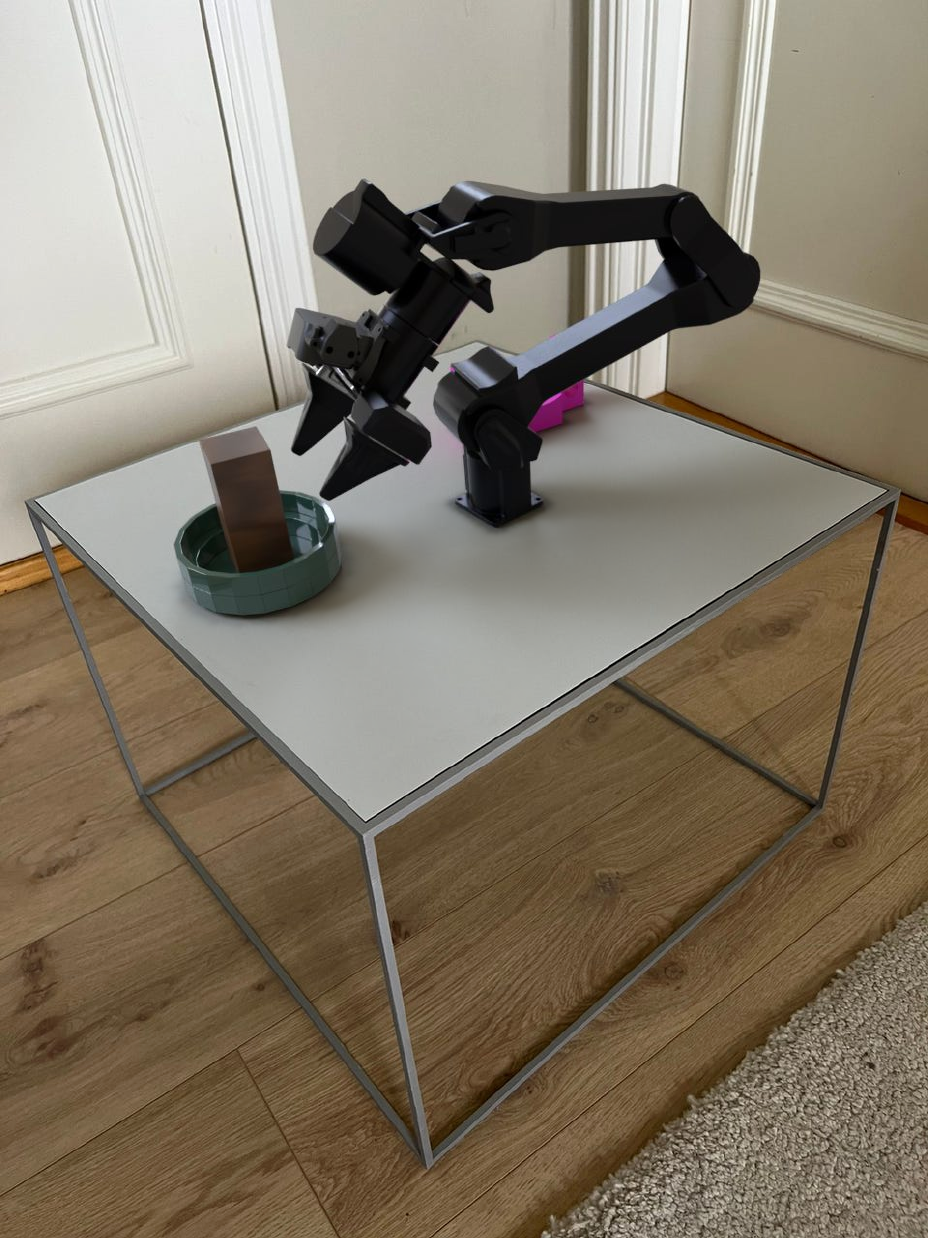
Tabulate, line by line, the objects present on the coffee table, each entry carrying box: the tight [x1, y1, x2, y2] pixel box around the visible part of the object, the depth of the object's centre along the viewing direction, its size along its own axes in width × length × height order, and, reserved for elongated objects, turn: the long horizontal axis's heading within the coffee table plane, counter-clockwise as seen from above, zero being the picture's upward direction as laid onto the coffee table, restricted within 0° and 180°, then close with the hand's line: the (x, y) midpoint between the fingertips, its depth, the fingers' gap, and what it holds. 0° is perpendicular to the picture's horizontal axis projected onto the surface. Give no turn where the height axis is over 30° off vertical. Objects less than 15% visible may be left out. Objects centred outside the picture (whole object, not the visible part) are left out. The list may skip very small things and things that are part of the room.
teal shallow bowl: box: [173, 489, 343, 616], centre depth 85 cm, size 14×14×4 cm
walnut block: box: [198, 426, 294, 573], centre depth 83 cm, size 5×5×12 cm
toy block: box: [449, 333, 585, 433], centre depth 105 cm, size 15×6×8 cm, turn 119°
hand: (308, 474), depth 83 cm, fingers open, 9 cm apart
